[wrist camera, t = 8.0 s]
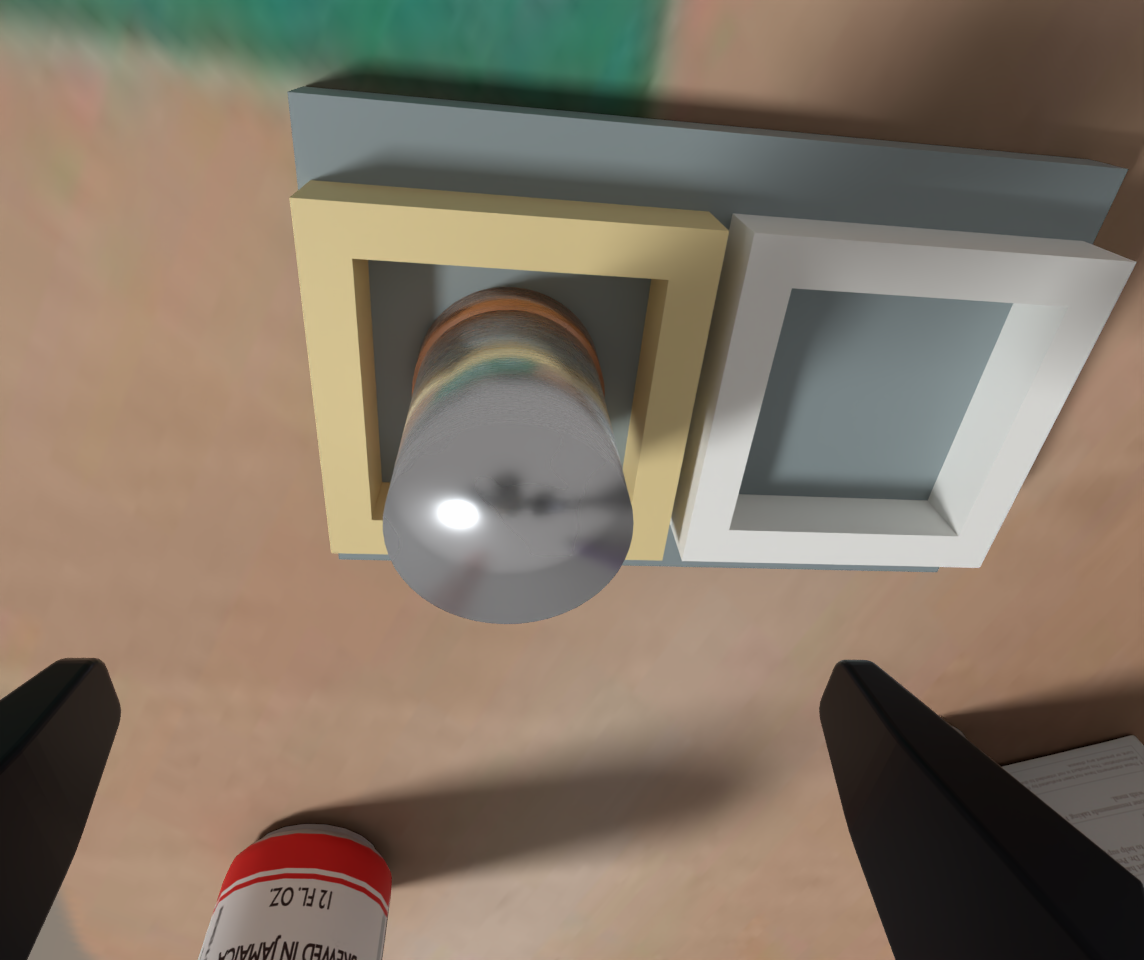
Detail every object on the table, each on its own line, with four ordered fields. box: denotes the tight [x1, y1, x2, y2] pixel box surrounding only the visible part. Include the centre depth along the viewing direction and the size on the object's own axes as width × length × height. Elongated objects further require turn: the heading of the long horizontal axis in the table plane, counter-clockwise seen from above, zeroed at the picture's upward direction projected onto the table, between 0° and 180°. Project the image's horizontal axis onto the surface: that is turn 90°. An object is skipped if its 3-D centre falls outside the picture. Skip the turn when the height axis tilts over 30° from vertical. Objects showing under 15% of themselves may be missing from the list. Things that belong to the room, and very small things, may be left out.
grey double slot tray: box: [288, 86, 1137, 572], centre depth 17 cm, size 17×11×3 cm, turn 85°
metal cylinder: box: [383, 287, 634, 624], centre depth 14 cm, size 4×4×6 cm
